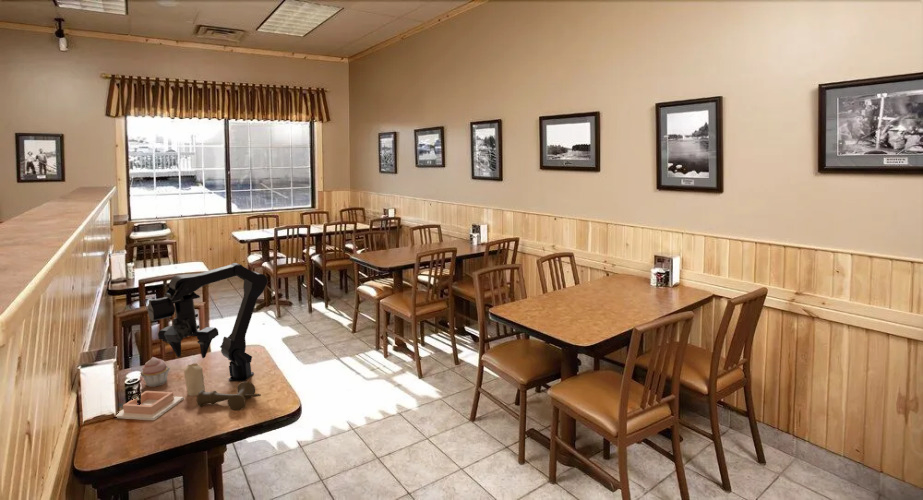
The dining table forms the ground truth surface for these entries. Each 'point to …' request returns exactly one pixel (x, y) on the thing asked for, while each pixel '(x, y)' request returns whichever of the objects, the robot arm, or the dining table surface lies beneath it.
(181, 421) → the dining table surface
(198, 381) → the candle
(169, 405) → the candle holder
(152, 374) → the cupcake
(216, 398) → the kendama
